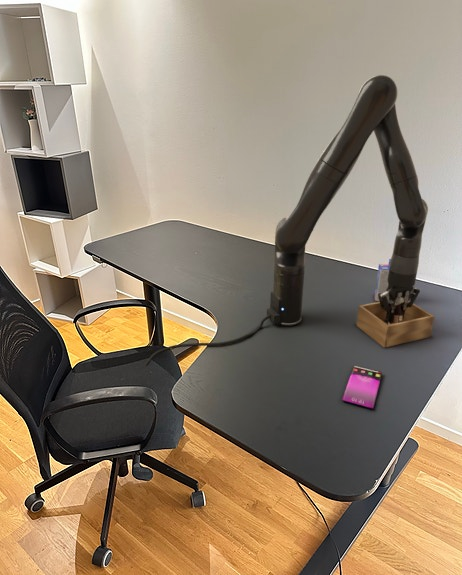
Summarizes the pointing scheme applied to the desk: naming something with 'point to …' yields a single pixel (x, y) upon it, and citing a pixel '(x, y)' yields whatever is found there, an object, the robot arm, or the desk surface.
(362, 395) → the smartphone
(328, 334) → the desk surface
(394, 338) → the birch box
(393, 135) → the robot arm
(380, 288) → the ink cartridge box
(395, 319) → the grandmother figurine
